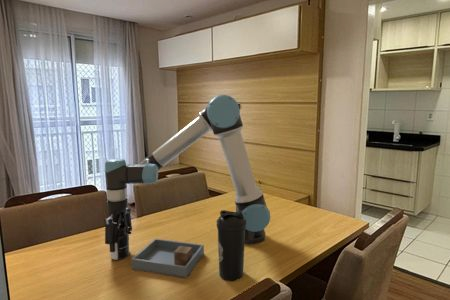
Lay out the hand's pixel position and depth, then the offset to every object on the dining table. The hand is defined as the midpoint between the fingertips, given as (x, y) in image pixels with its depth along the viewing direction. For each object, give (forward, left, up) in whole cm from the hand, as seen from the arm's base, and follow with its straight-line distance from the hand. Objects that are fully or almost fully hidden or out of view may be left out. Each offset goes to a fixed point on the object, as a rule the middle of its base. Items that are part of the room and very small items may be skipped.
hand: (120, 254), depth 119 cm
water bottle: (-46, +1, -1) cm, 46 cm away
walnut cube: (-27, -1, 0) cm, 27 cm away
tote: (-21, -1, -1) cm, 21 cm away
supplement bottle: (0, 0, -1) cm, 1 cm away
